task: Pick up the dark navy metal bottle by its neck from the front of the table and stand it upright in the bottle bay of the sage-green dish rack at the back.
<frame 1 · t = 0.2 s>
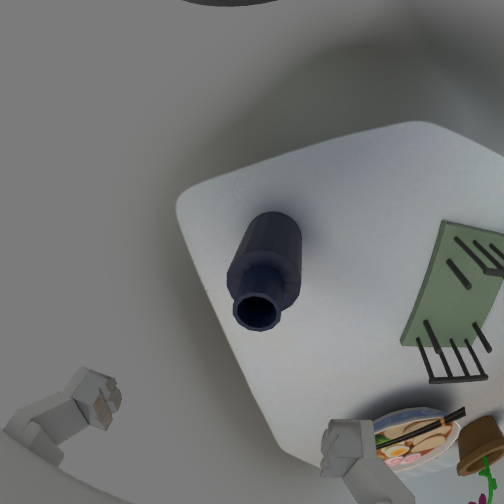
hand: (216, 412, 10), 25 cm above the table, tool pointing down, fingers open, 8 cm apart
ramen bowl: (397, 420, 46), on the table
bottle: (273, 237, 34), on the table
rack: (459, 290, 33), on the table
flowerpot: (475, 427, 46), on the table
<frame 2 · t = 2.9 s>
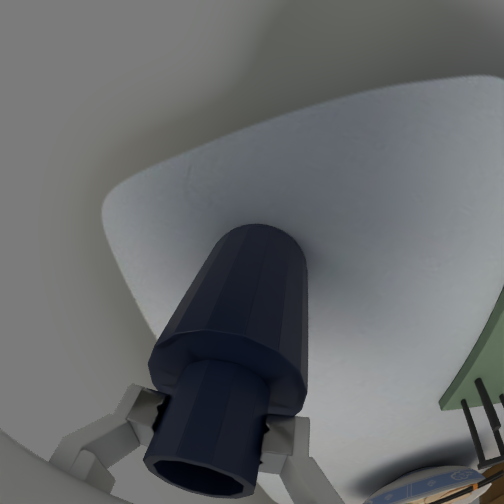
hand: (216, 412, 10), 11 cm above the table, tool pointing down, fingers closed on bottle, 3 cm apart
ramen bowl: (416, 475, 32), on the table
bottle: (258, 269, 20), on the table, touching gripper
flowerpot: (498, 467, 32), on the table
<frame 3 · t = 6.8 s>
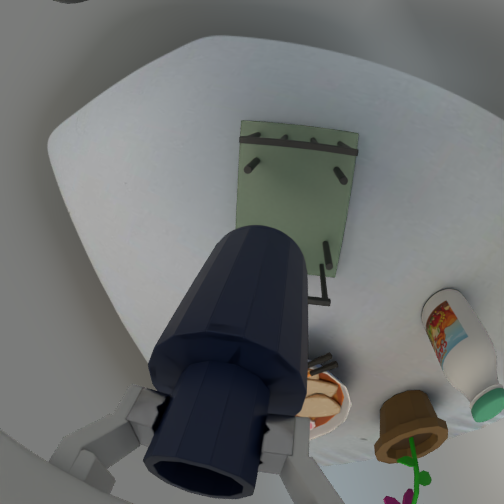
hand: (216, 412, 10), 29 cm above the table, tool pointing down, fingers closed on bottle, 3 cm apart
ramen bowl: (281, 375, 49), on the table
bottle: (258, 269, 20), point 18 cm above the table, touching gripper
rack: (292, 200, 35), on the table
milk bottle: (441, 308, 39), on the table
flowerpot: (404, 404, 49), on the table
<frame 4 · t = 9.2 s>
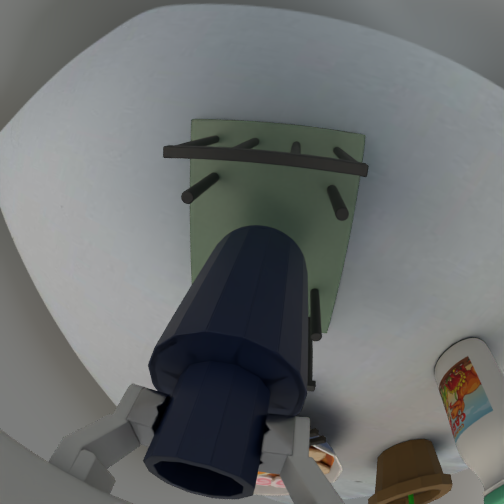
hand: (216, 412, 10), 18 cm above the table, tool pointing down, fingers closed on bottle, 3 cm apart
ramen bowl: (262, 428, 38), on the table
bottle: (258, 270, 20), point 6 cm above the table, touching gripper
rack: (269, 232, 25), on the table
milk bottle: (459, 358, 28), on the table
flowerpot: (405, 452, 39), on the table
when the fingers open (12 cm above the table, at t = 10.9 s): bottle stays where it is, resting on rack.
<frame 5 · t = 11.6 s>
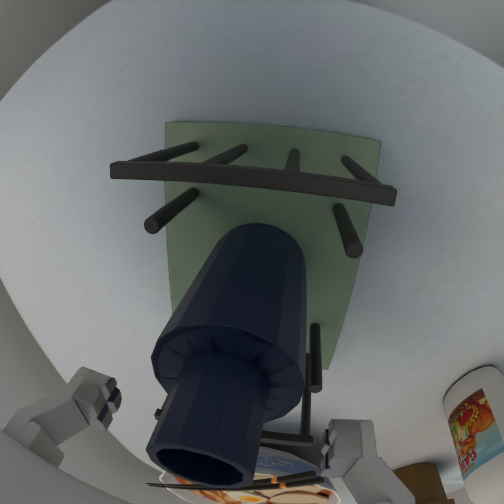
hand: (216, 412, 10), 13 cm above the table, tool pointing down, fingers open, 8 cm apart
ramen bowl: (257, 455, 34), on the table
bottle: (258, 267, 20), point 1 cm above the table, touching rack
rack: (261, 257, 21), on the table
milk bottle: (471, 387, 24), on the table
flowerpot: (407, 474, 34), on the table
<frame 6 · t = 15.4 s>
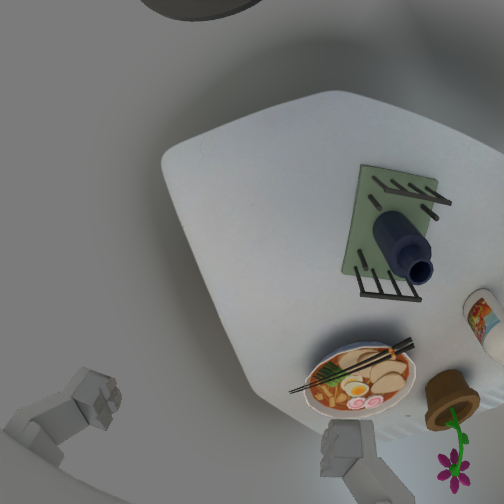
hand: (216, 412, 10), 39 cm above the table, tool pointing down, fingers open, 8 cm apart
ramen bowl: (357, 361, 58), on the table
bottle: (390, 229, 44), point 1 cm above the table, touching rack
rack: (389, 226, 45), on the table
milk bottle: (476, 303, 48), on the table
flowerpot: (443, 382, 58), on the table
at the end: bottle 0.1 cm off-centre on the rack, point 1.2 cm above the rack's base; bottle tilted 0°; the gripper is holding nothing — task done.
